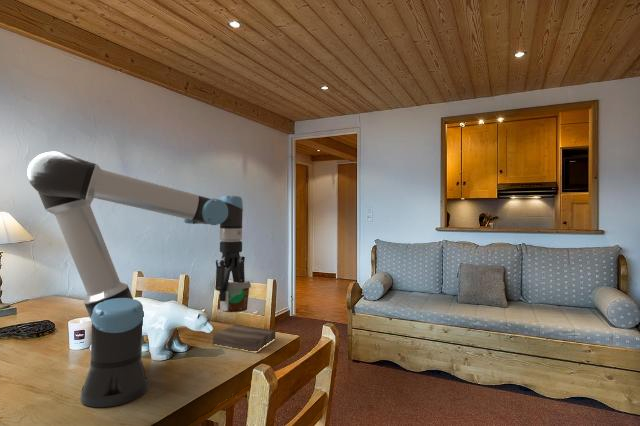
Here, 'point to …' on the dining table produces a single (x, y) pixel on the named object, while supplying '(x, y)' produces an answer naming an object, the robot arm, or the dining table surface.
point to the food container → (238, 296)
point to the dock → (244, 337)
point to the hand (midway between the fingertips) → (230, 307)
